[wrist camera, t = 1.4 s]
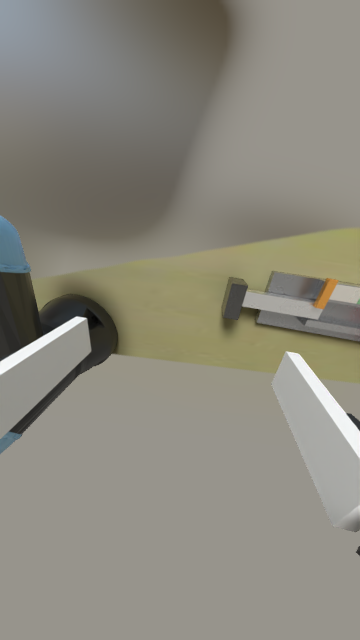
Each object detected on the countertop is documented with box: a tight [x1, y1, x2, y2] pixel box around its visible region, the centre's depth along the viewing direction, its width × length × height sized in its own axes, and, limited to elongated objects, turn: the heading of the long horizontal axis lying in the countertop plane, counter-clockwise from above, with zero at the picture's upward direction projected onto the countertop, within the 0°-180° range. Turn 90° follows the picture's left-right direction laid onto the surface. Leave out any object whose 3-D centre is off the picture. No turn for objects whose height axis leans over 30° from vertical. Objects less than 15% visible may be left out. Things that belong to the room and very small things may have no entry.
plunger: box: [222, 277, 338, 320], centre depth 24 cm, size 13×7×4 cm, turn 83°
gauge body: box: [255, 271, 360, 341], centre depth 25 cm, size 20×8×4 cm, turn 83°
